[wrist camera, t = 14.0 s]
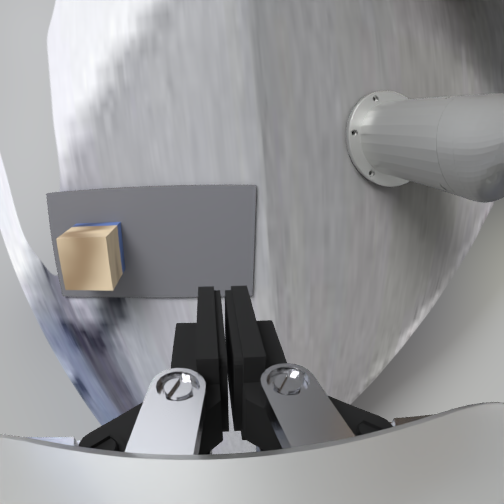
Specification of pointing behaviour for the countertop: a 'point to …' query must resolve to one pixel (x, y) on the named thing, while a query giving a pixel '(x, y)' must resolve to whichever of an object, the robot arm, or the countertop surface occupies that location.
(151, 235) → the mat
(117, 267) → the cube
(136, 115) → the countertop surface
